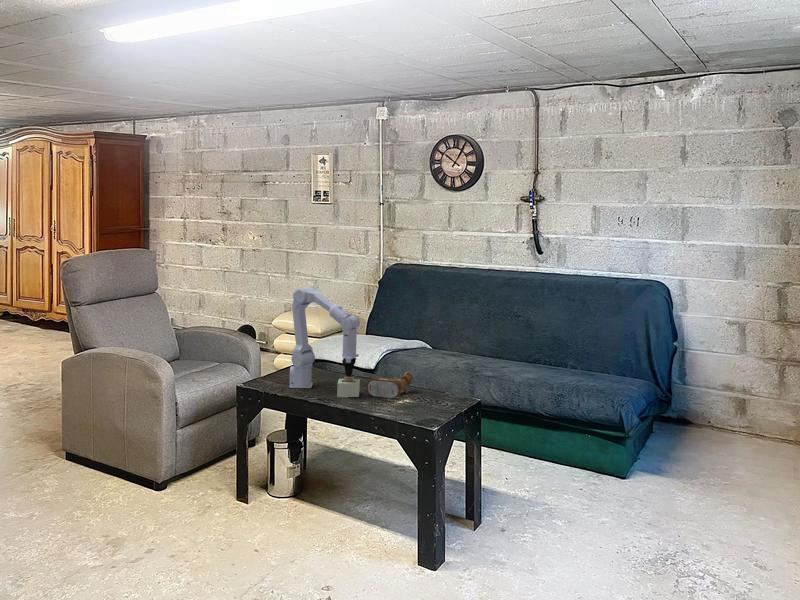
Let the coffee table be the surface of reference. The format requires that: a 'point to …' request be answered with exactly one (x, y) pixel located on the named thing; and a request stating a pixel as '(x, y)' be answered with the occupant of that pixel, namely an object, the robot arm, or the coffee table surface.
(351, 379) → the block
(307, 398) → the coffee table surface
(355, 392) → the box
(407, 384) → the lion figurine
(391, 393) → the tin
